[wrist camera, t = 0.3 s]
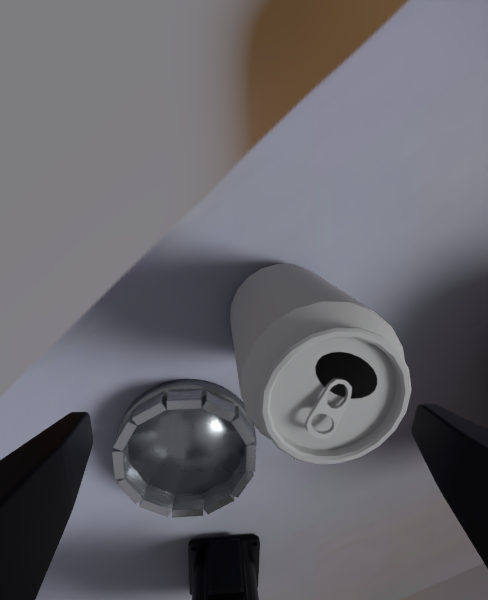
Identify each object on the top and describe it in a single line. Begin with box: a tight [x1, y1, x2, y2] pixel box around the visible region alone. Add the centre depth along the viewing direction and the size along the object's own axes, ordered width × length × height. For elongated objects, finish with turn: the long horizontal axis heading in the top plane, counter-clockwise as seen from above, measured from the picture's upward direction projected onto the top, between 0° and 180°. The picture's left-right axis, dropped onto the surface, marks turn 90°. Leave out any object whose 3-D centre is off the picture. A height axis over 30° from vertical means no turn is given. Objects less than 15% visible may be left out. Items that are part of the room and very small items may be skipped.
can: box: [230, 264, 411, 464], centre depth 18 cm, size 8×8×12 cm
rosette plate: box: [112, 379, 256, 517], centre depth 25 cm, size 11×11×2 cm
